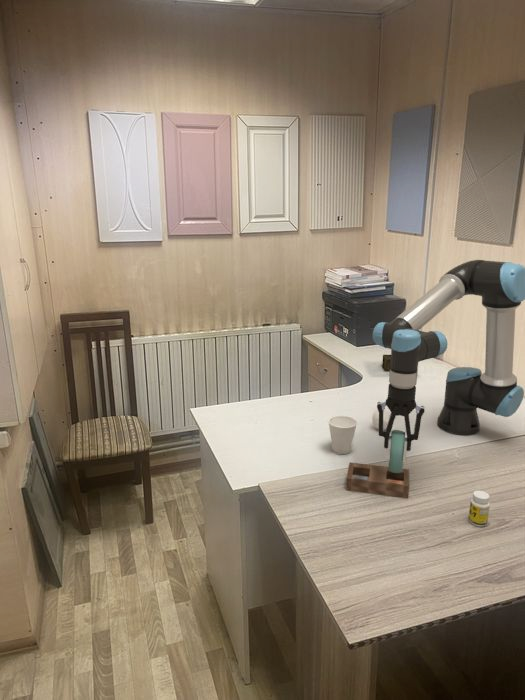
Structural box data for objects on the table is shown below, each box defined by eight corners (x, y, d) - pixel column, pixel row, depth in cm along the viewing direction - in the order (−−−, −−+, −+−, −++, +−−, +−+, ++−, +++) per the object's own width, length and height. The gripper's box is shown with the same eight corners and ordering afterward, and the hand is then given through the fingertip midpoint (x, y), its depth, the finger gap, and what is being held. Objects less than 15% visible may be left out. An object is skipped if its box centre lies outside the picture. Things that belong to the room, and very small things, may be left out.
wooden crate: (399, 372, 259) (400, 359, 257) (384, 372, 259) (385, 358, 257) (396, 368, 266) (397, 354, 264) (382, 368, 266) (383, 354, 264)
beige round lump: (392, 434, 191) (394, 415, 188) (371, 432, 192) (372, 413, 190) (391, 425, 198) (393, 406, 196) (371, 423, 200) (372, 405, 197)
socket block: (407, 480, 159) (408, 468, 158) (408, 498, 150) (409, 485, 149) (349, 473, 164) (349, 461, 163) (345, 490, 154) (346, 477, 153)
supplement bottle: (465, 516, 142) (468, 489, 139) (481, 516, 142) (485, 489, 139) (473, 527, 137) (477, 499, 135) (490, 526, 137) (494, 499, 135)
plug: (402, 467, 155) (405, 430, 152) (402, 473, 152) (405, 436, 148) (388, 465, 156) (391, 429, 153) (388, 472, 153) (391, 435, 149)
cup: (358, 446, 182) (359, 417, 178) (353, 459, 173) (354, 429, 169) (330, 442, 185) (331, 413, 182) (324, 454, 176) (325, 425, 173)
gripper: (432, 382, 148) (425, 456, 154) (372, 377, 152) (368, 449, 158) (434, 391, 141) (426, 468, 147) (371, 386, 145) (366, 461, 151)
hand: (396, 458), depth 153 cm, fingers closed on plug, 4 cm apart
